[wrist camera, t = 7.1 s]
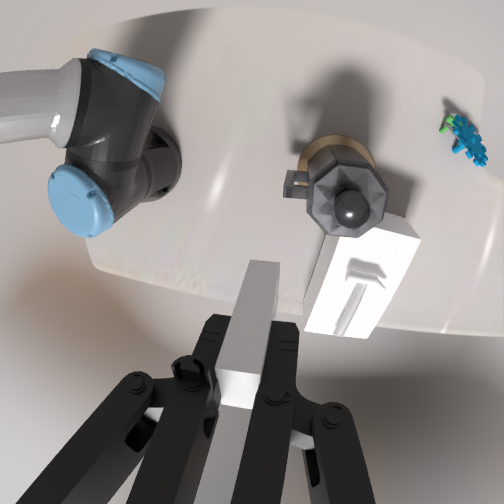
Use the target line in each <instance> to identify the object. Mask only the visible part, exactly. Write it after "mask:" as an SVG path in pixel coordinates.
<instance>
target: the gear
mask: <svg viewBox="0 0 504 504" xmlns="http://www.w3.org/2000/svg"><path fill="white" fill-rule="evenodd" d="M446 121H447V122H446V126H445V127H443V128H442V129H441V130H439V131H440V133H441V134H442V133H444V132H445V131H446V130H448V129H449V130H450V131H451V132H452V133H453V134H454V135H455V136H456V138H457V139H458V143H459V145H457V146H456V147H454V148H453V149H452V151H453V153H457V152H458V151H460V150H462V149H463V148H467V149H468V151H467V152H465V153H466V155H467V157H468V158H469V159H470V158H472V157H473V155H474V157H475V159H474V160H473V162H474V164H475V165H476V166H479V165H480V166H481V167H483V166H485V165H486V163H485V161H487V160H488V158H487V156H486V155H485V152H486V148H485V146H483V145H482V144H481V143H480V142H481V141H482V139H481V137H480V135H476V134H475V133H474V132H473V131H475V128H474V126H473V125H472V124H471V125H469V127H468V126H467V123H468V120H467V119H466V118H465V117H463V118H461V116H459V115H456V116H455V119H454V117H453V116H452V115H450V116H448V117H447V118H446ZM454 126H455V127H454Z"/></svg>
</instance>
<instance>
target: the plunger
mask: <svg viewBox="0 0 504 504" xmlns="http://www.w3.org/2000/svg"><path fill="white" fill-rule="evenodd" d="M333 208H334V213H335V217H336V219H337V221H338V222H339V223H340V224H341V225H342V226H344V227H346V228H358V227H360V226H362V225H364V224H365V223H366V222H367V220H368V219H369V217H370V212H371V209H370V205H369V202H368V201H367V199H366V197H365V196H364V195H363V194H362V193H361V192H359V191H358V190H357V189H349V188H345V189H343V190H342V191H341V192H340V193H338V194H337V195H336V197H335V201H334V206H333Z"/></svg>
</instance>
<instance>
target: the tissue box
mask: <svg viewBox="0 0 504 504" xmlns="http://www.w3.org/2000/svg"><path fill="white" fill-rule="evenodd" d="M420 242H421V239H420V237H419V236H418V234H417V233H416V232H415V230H414V229H413V228H412V227H411V225H410V224H409V223H408V221H407V220H406V219H405V218H404V217H401V216H398V215H394V214H391V213H388V212H385V213H384V218H383V221H381V222H380V223H378V224H377V225H376V226H374V227H373V228H371V229H370V230H369V231H367V232H366V233H364V234H363V235H362V236H360V237H359V238H352V237H341V236H331V235H327V234H326V236H325V239H324V242H323V245H322V248H321V251H320V254H319V257H318V260H317V263H316V266H315V269H314V272H313V275H312V278H311V281H310V284H309V286H308V289H307V292H306V295H305V298H304V300H303V320H304V322H303V324H304V331H308V332H315V333H323V334H330V335H336V336H348V337H356V338H368V336H369V335H370V333H371V332H372V330H373V328H374V327H375V325H376V324H377V322H378V320H379V319H380V317H381V315H382V314H383V312H384V310H385V309H386V307H387V305H388V304H389V302H390V300H391V298H392V297H393V295H394V293H395V291H396V289H397V288H398V286H399V284H400V282H401V280H402V278H403V276H404V274H405V272H406V271H407V269H408V267H409V265H410V263H411V261H412V258H413V256H414V254H415V252H416V250H417V248H418V246H419V244H420Z"/></svg>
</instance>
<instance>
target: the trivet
mask: <svg viewBox="0 0 504 504" xmlns="http://www.w3.org/2000/svg"><path fill="white" fill-rule="evenodd" d="M328 144H330V145H334V144H339V145H345V146H348V147H353V148H355V149H356V150H357V151H358V152H359V153H360V154H361V155H362V156H363V157H364V158H365V159H366V160H367V161H369V162H370V164H371V165H372V166H373V168H374V169H375V165H374V162H373V159H372V157H371V155H370V154H369V152H368V151H367V149H366V148H365V147H364V146H363V145H361V144H360V143H359V142H357V141H356V140H354V139H352V138H350V137H347V136H342V135H328V136H324V137H321V138H319V139H317V140H315V141H314V142H312V143H311V144H310V145H309V146H308V147H307V148H306V149H305V150H304V152H303V153H302V155H301V157H300V160H299V163H298V169H297V171H307V164H308V160H309V159H310V158H311V157H312V156H313V155H314V154H315V153H316V152H317V151H318V150H319V149H321V148H323V147H325V146H326V145H328ZM299 185H305V186H306V182H299Z"/></svg>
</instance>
